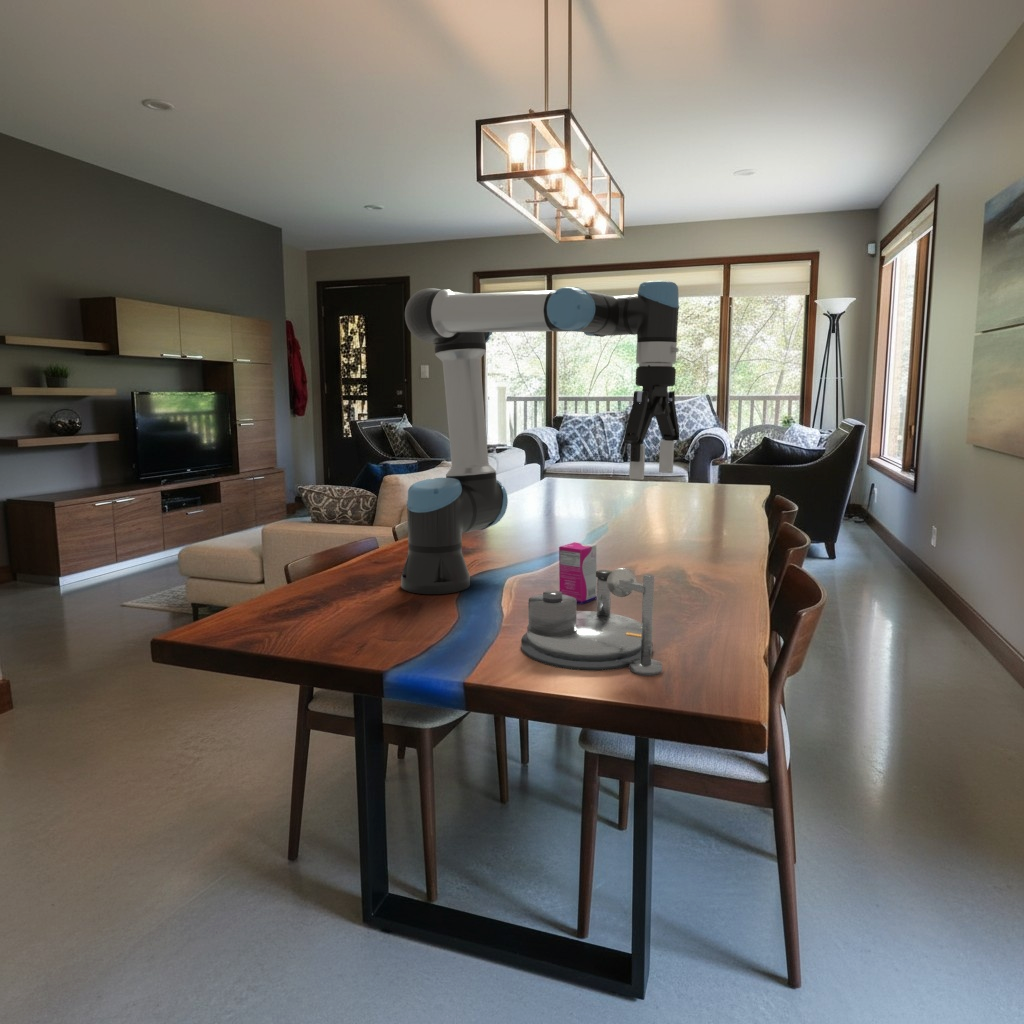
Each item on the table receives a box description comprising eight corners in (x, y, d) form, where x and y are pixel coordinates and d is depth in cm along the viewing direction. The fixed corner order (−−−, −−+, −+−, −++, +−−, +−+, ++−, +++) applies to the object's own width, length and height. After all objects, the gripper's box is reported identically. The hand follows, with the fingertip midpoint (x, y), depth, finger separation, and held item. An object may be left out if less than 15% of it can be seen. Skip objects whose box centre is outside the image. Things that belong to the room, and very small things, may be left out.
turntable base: (498, 657, 122) (498, 650, 122) (551, 620, 142) (551, 615, 142) (629, 679, 113) (629, 672, 113) (667, 637, 132) (667, 631, 132)
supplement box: (573, 594, 160) (574, 541, 159) (597, 598, 157) (598, 545, 155) (557, 599, 156) (558, 545, 154) (581, 605, 152) (582, 549, 151)
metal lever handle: (597, 668, 118) (599, 573, 115) (607, 658, 122) (609, 566, 120) (657, 678, 113) (660, 579, 111) (665, 667, 118) (669, 572, 115)
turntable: (507, 648, 123) (507, 590, 121) (554, 616, 140) (555, 564, 139) (625, 668, 114) (627, 605, 112) (660, 631, 132) (662, 576, 130)
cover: (520, 632, 124) (520, 596, 123) (540, 619, 132) (540, 584, 131) (565, 639, 121) (566, 602, 120) (583, 625, 128) (583, 590, 127)
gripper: (646, 363, 132) (641, 483, 136) (698, 367, 153) (693, 471, 156) (608, 363, 137) (604, 480, 140) (664, 367, 157) (660, 469, 160)
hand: (651, 475), depth 148 cm, fingers open, 13 cm apart
